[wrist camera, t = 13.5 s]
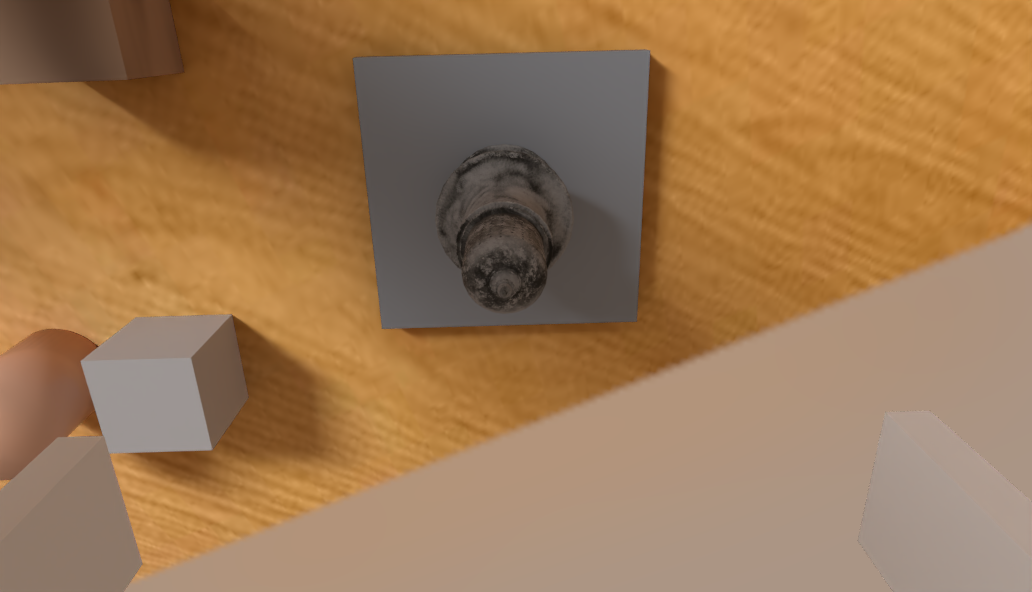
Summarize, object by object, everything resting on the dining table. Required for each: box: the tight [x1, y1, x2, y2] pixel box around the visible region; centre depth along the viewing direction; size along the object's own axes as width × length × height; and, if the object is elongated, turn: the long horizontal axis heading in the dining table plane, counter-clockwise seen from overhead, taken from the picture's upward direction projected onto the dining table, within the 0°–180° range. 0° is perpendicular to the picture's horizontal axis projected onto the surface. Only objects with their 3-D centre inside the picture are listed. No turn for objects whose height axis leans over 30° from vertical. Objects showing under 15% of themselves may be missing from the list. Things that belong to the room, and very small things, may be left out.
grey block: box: [80, 314, 249, 453], centre depth 33 cm, size 5×5×5 cm
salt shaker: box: [435, 144, 574, 314], centre depth 26 cm, size 6×6×12 cm
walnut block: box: [0, 0, 184, 84], centre depth 27 cm, size 5×5×5 cm
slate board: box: [353, 50, 650, 329], centre depth 32 cm, size 13×13×1 cm
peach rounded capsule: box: [0, 329, 98, 480], centre depth 33 cm, size 5×5×6 cm
